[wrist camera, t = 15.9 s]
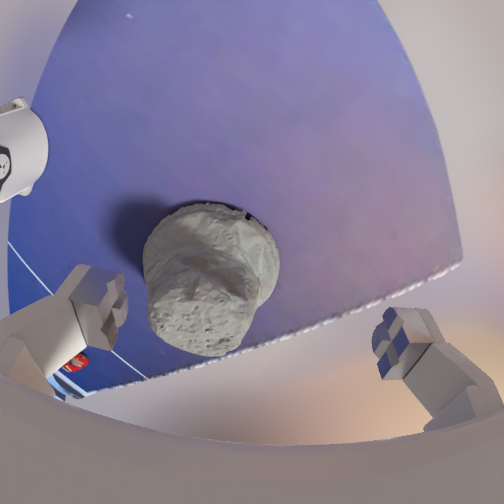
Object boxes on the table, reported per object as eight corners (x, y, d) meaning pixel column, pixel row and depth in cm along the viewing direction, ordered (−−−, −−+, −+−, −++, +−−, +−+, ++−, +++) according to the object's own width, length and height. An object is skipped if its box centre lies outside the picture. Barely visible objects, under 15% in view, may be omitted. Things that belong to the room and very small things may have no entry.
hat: (217, 170, 41) (197, 213, 28) (307, 273, 50) (321, 339, 37) (116, 262, 50) (80, 318, 37) (201, 334, 59) (190, 395, 46)
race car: (78, 346, 65) (73, 357, 62) (93, 359, 68) (88, 369, 65) (59, 355, 69) (54, 365, 66) (71, 366, 72) (67, 376, 68)
